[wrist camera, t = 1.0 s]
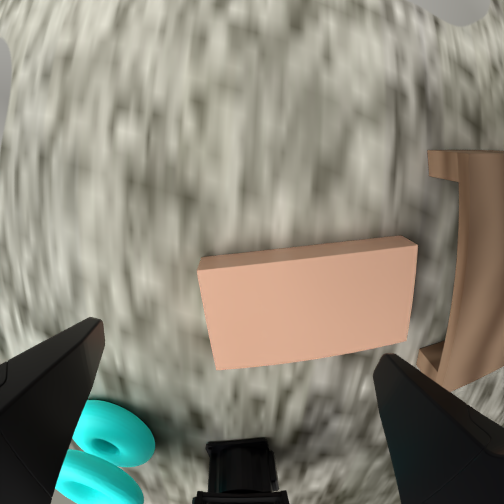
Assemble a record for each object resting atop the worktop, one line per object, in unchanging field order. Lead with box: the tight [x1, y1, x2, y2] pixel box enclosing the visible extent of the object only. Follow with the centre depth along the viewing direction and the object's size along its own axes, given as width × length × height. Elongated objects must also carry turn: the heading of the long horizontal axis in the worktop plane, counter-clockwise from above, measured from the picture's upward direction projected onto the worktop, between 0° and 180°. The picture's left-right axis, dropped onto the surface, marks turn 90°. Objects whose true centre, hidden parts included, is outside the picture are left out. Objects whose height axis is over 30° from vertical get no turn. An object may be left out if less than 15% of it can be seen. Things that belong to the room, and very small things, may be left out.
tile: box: [197, 235, 418, 370], centre depth 22 cm, size 15×8×3 cm, turn 96°
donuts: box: [55, 400, 155, 504], centre depth 22 cm, size 10×10×10 cm
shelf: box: [416, 150, 504, 392], centre depth 20 cm, size 10×20×5 cm, turn 8°
